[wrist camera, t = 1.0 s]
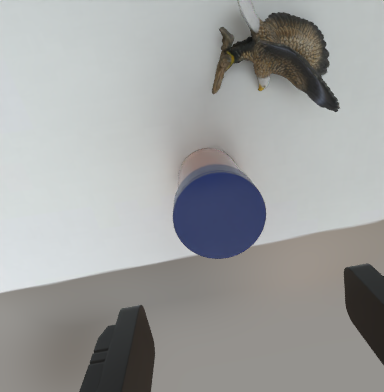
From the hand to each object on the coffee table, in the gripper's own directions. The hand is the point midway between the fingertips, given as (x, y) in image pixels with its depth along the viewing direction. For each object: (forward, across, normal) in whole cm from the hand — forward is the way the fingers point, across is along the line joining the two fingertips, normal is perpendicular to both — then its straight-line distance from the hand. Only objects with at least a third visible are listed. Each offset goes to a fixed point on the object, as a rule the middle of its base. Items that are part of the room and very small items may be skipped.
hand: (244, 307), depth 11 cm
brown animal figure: (+18, -7, -8) cm, 21 cm away
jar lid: (+9, 0, 0) cm, 9 cm away
